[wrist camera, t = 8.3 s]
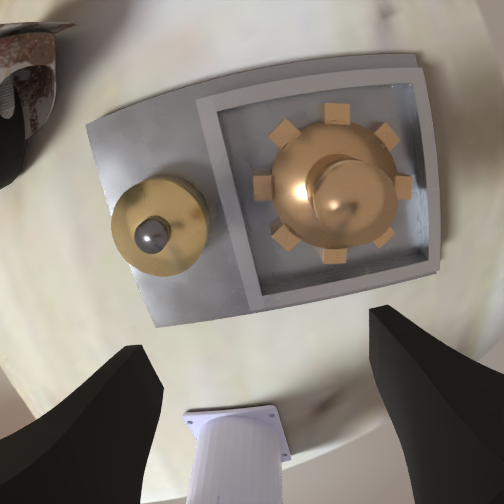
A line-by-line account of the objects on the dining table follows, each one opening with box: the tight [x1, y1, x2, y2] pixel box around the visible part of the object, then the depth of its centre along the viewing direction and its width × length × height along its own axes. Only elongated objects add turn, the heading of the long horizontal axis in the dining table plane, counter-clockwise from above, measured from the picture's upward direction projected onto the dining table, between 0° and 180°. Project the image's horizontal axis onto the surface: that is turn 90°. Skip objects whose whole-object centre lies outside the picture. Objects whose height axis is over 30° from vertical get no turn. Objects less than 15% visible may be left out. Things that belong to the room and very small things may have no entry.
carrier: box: [86, 54, 441, 328], centre depth 15 cm, size 13×18×4 cm
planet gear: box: [253, 103, 413, 264], centre depth 13 cm, size 8×8×4 cm
